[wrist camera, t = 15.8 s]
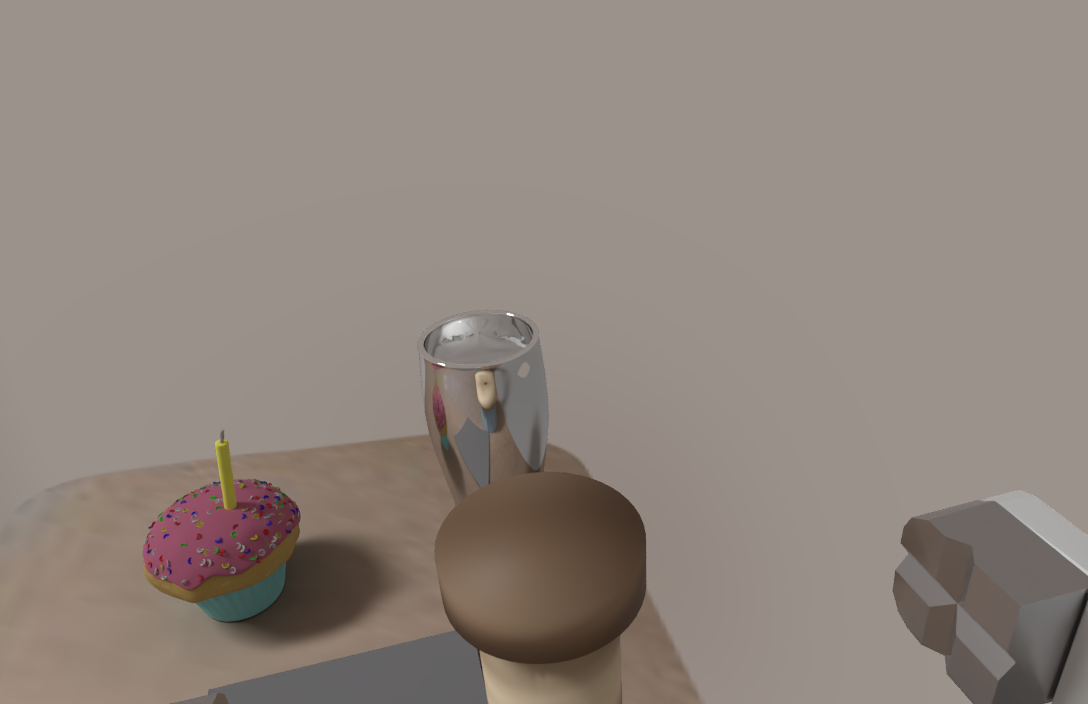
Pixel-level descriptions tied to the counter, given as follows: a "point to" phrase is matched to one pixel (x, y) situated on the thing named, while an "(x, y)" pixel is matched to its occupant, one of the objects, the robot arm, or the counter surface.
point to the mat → (376, 677)
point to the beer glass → (484, 397)
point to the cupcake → (224, 544)
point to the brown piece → (544, 585)
